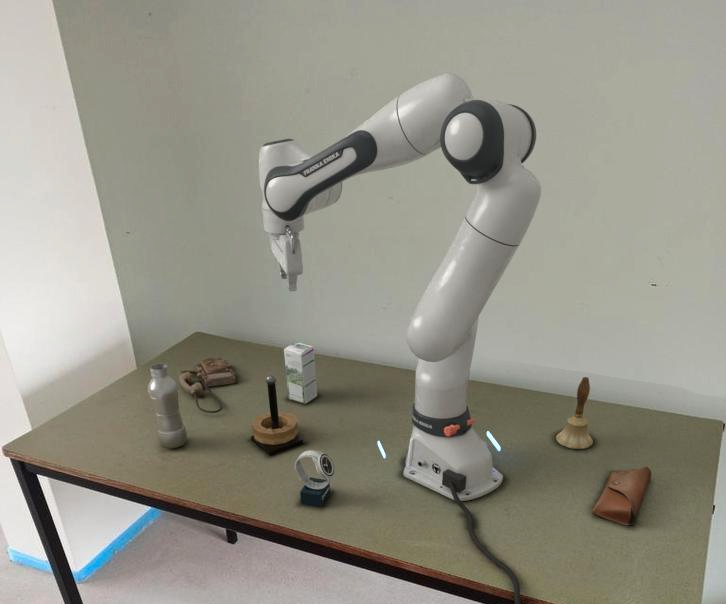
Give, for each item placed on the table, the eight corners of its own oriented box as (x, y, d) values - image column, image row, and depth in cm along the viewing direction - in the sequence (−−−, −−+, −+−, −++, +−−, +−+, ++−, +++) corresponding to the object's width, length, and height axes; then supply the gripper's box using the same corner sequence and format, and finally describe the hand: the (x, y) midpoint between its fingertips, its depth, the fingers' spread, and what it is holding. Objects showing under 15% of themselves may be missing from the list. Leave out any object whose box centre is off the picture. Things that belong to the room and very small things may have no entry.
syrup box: (317, 396, 179) (314, 345, 171) (304, 405, 175) (301, 353, 167) (300, 391, 181) (297, 340, 173) (287, 399, 177) (282, 348, 169)
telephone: (194, 420, 168) (193, 405, 166) (173, 370, 194) (171, 356, 191) (253, 411, 173) (252, 396, 171) (224, 364, 199) (223, 350, 197)
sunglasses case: (608, 469, 146) (630, 450, 141) (634, 490, 145) (657, 471, 141) (590, 513, 132) (613, 494, 128) (618, 536, 132) (642, 518, 127)
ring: (306, 434, 159) (305, 423, 157) (267, 449, 154) (266, 438, 152) (282, 418, 166) (281, 407, 165) (244, 431, 161) (243, 420, 159)
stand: (303, 444, 158) (298, 376, 148) (269, 456, 153) (262, 387, 144) (283, 429, 164) (277, 363, 155) (251, 440, 160) (243, 373, 150)
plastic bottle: (181, 452, 155) (166, 373, 144) (154, 450, 156) (137, 371, 146) (192, 438, 161) (179, 361, 150) (166, 436, 162) (151, 359, 151)
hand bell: (558, 429, 162) (568, 368, 153) (594, 435, 159) (606, 373, 151) (553, 446, 155) (563, 383, 147) (590, 452, 153) (603, 388, 144)
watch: (329, 509, 136) (327, 463, 130) (293, 502, 138) (289, 457, 132) (339, 494, 140) (337, 449, 134) (303, 487, 142) (299, 443, 136)
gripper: (307, 231, 138) (311, 296, 146) (289, 210, 155) (293, 270, 162) (277, 233, 137) (282, 299, 144) (262, 212, 153) (267, 272, 161)
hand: (288, 284), depth 153 cm, fingers open, 8 cm apart
